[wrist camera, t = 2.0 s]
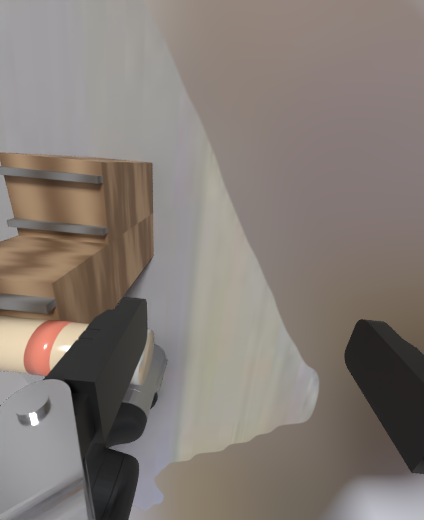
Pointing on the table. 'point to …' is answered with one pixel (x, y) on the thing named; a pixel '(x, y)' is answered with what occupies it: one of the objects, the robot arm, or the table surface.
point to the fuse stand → (73, 234)
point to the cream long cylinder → (50, 346)
